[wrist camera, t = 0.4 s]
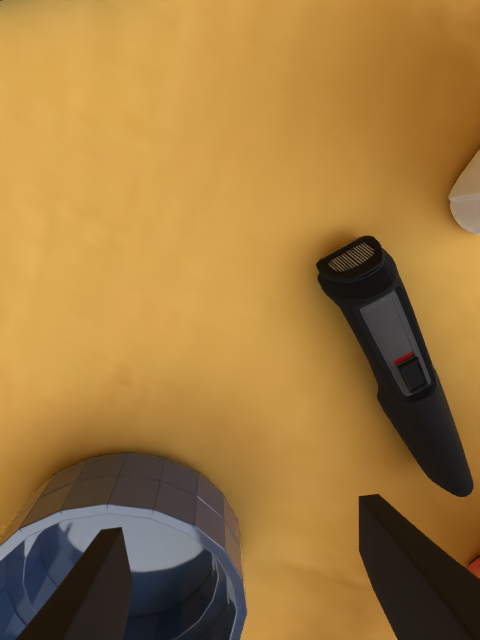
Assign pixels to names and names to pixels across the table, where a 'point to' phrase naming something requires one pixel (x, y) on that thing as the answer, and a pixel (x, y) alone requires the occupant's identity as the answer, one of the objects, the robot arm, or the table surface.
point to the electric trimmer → (397, 357)
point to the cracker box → (475, 567)
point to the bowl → (131, 547)
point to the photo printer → (467, 197)
